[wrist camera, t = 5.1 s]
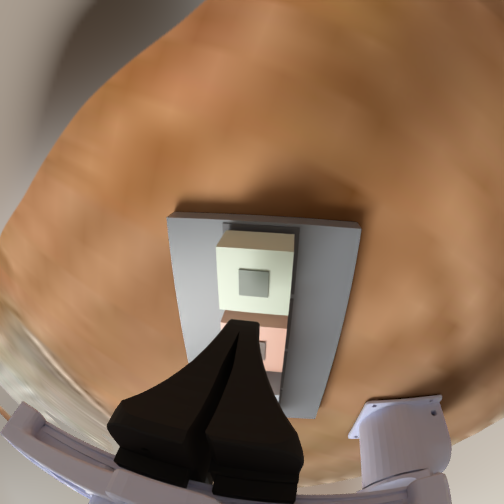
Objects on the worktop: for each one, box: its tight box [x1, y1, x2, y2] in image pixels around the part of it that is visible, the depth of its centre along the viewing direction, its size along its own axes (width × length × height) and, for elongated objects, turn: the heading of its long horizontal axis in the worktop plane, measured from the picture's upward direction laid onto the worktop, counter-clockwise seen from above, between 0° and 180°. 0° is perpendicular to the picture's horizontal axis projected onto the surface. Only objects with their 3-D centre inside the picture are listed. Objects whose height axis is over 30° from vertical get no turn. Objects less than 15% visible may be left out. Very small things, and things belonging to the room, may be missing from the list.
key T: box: [220, 310, 288, 372], centre depth 19 cm, size 4×4×2 cm
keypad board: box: [167, 212, 361, 419], centre depth 22 cm, size 12×20×1 cm, turn 0°
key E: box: [216, 230, 294, 316], centre depth 16 cm, size 4×4×2 cm
